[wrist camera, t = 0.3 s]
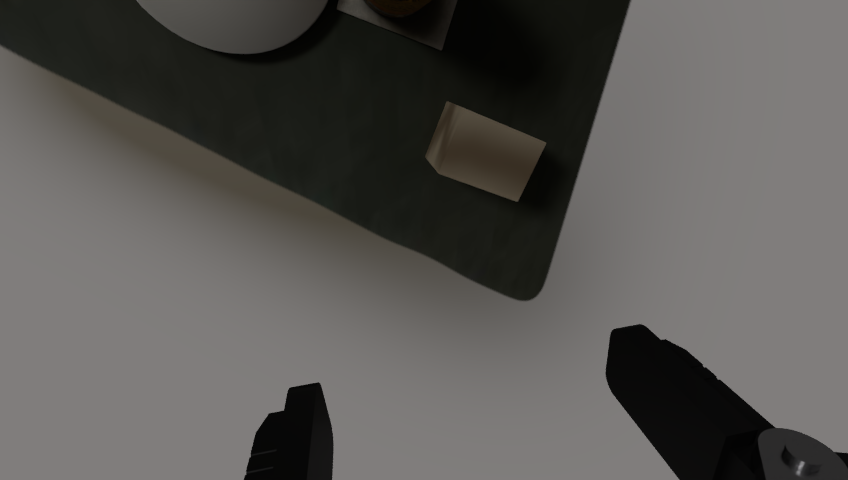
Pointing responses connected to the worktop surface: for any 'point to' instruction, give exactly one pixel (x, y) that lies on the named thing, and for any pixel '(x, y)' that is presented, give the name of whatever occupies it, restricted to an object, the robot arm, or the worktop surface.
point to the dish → (237, 22)
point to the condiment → (406, 17)
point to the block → (483, 152)
